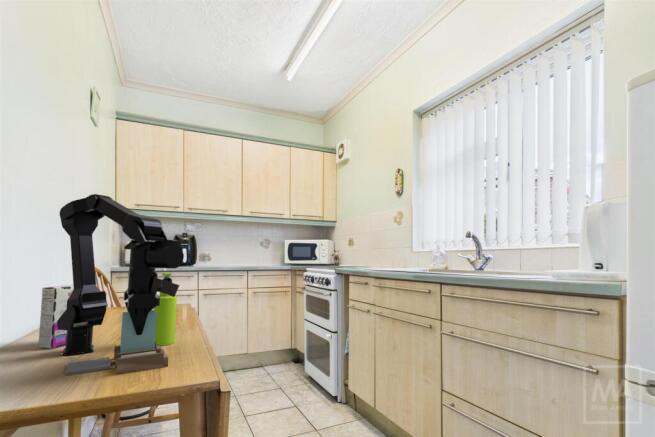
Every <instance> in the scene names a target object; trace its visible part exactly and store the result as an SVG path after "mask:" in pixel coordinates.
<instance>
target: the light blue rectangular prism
mask: <svg viewBox="0 0 655 437" xmlns="http://www.w3.org/2000/svg"><path fill="white" fill-rule="evenodd" d="M156 317H157V312H156V311H155V310H154V309H152V310H151V311H150V312H149V313H148V316H147V320H146V323H145V326H144V329H143V333H142V335H137V334H136V331H135V329H134V326H133V323H132V320H131V317H130V314H129V312H128V311H123V312H122V317H121V330H120V332H121V333H120V353H125V352H132V351H140V350H148V349H155V334H156Z"/></svg>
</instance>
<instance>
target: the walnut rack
mask: <svg viewBox="0 0 655 437" xmlns="http://www.w3.org/2000/svg"><path fill="white" fill-rule="evenodd" d="M162 347H163V346H160V345H156V341H155V349H148V350H140V351H132V352H125V353H120V345H119V344H118V345H114V353H113V354H114V355H113V360H115V366H114V367H115V369H116V375H121V374H128V373H134V372H141V371H147V370H154V369H159V368H166V367H169V356H168V354H167V353H166V352H165V350H164V349H163V348H162ZM153 351H156V353H154V354H147V355H139V356H132V357H124V358H121V356H122V355H130V354H138V353H145V352H153Z"/></svg>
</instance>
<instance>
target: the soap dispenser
mask: <svg viewBox="0 0 655 437" xmlns="http://www.w3.org/2000/svg"><path fill="white" fill-rule="evenodd" d="M161 276H163V278H165V277H168V278H171V276H172V273H171V272H162V274H161ZM158 296H159V297H160V305H159V306H156V307H155V308H153V310H155V311H156V312H157V317H156V334H155V341H156V345H160V346H161V347H163V346H170V345H174V344H175V342H176V325H177V324H176V322H177V307H178V306H177V302H178V297H177V296H176V295H175V297H172V296H169V295H168V294H165V293H161V292H159V295H158Z"/></svg>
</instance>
